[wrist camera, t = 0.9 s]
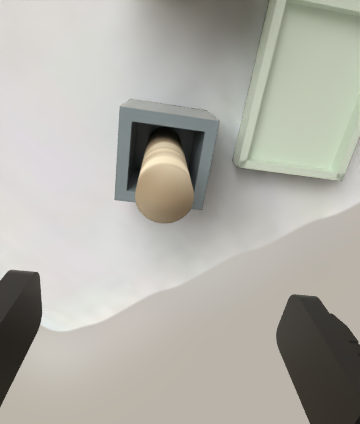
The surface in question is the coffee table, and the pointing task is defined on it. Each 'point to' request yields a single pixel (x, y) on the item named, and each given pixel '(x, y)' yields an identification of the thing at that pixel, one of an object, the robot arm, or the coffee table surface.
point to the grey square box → (153, 119)
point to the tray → (304, 90)
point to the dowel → (164, 179)
